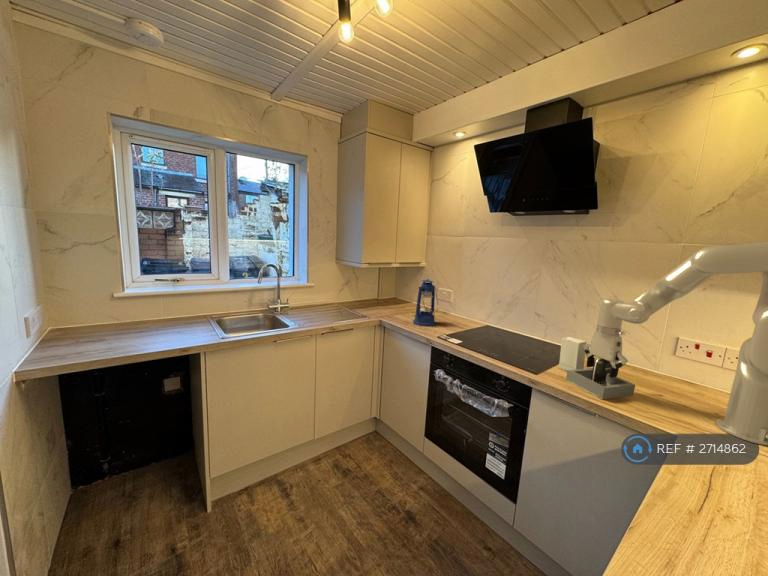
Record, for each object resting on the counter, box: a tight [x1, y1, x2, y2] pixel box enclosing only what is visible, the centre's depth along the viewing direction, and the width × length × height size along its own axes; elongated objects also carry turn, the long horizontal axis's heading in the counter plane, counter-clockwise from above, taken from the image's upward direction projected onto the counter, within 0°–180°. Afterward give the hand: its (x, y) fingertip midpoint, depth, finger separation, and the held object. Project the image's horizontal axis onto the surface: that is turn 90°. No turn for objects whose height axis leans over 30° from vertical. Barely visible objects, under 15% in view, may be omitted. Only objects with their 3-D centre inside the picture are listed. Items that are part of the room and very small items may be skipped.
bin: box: [565, 367, 636, 400], centre depth 124 cm, size 16×16×4 cm
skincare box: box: [558, 336, 588, 372], centre depth 139 cm, size 8×6×15 cm
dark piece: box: [591, 358, 612, 386], centre depth 122 cm, size 7×4×11 cm, turn 112°
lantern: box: [412, 279, 439, 327], centre depth 205 cm, size 17×15×30 cm
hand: (600, 371), depth 123 cm, fingers open, 9 cm apart
